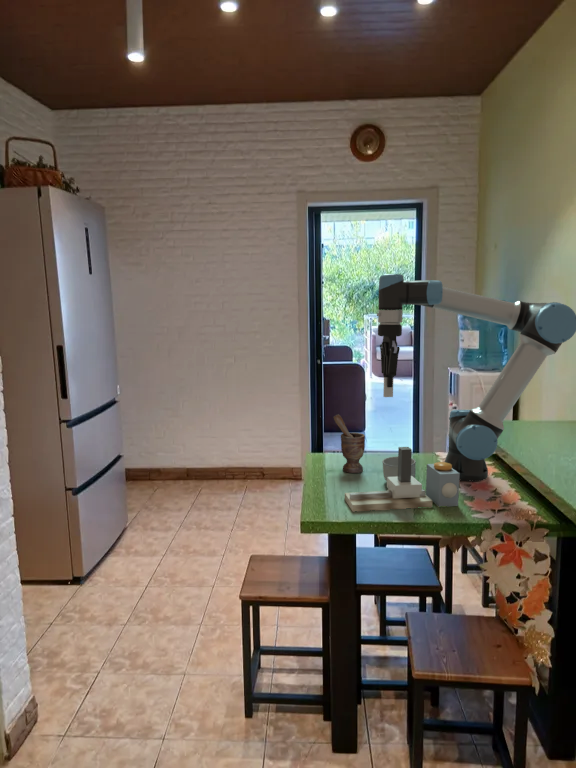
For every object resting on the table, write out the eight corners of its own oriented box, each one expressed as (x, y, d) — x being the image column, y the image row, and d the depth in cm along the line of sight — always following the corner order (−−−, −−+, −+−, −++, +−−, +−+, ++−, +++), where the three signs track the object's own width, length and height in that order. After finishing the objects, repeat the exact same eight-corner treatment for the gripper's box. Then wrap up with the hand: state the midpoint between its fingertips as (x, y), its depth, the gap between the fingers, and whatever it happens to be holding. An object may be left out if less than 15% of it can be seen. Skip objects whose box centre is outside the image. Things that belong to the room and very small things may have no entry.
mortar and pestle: (330, 472, 188) (331, 417, 185) (333, 465, 196) (333, 412, 193) (363, 474, 186) (364, 419, 183) (364, 467, 194) (365, 413, 191)
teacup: (411, 490, 170) (412, 466, 168) (378, 486, 174) (378, 462, 173) (419, 478, 182) (420, 455, 181) (388, 473, 187) (389, 451, 185)
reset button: (446, 483, 164) (447, 461, 163) (453, 489, 159) (454, 466, 158) (430, 484, 163) (431, 462, 162) (437, 490, 158) (438, 467, 157)
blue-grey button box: (444, 493, 167) (445, 463, 165) (458, 506, 156) (460, 473, 155) (425, 494, 166) (426, 464, 164) (439, 507, 156) (440, 474, 154)
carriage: (411, 489, 164) (413, 444, 162) (421, 498, 156) (423, 451, 154) (386, 490, 163) (387, 445, 161) (395, 500, 155) (396, 452, 153)
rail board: (419, 495, 166) (419, 484, 165) (432, 507, 156) (432, 495, 155) (344, 499, 163) (344, 488, 162) (352, 511, 153) (352, 500, 152)
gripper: (372, 323, 175) (371, 393, 178) (384, 324, 162) (383, 400, 165) (394, 322, 175) (392, 393, 179) (408, 324, 163) (406, 399, 166)
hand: (388, 396), depth 172 cm, fingers closed
